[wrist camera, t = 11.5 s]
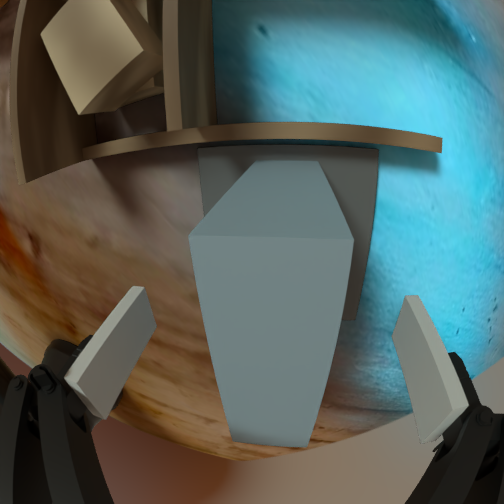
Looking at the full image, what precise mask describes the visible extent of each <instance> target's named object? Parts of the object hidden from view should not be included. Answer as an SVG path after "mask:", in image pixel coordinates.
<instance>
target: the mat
mask: <svg viewBox="0 0 504 504" xmlns="http://www.w3.org/2000/svg"><path fill="white" fill-rule="evenodd" d="M197 150H198V162H199V172H200V183H201V192H202V202H203V211H204V217H205V216H206V215H207V213H208V212H209V211H210V210H211V209H212V208H213V207H214V206H215V204H216V203H217V202H218V201H219V200H220V199H221V198H222V197H223V196H224V194H225V193H226V192H227V191H228V190H229V189H230V188H231V187H232V186H233V185H234V183H235V182H236V181H237V180H238V179H239V178H240V177H241V176H242V175H243V174H244V173H245V172H246V171H247V170H248V168H249V167H250V166H251V165H252V164H253V163H254V162H255V161H261V160H292V161H318V162H319V164H320V166H321V168H322V170H323V172H324V174H325V176H326V178H327V180H328V183H329V185H330V187H331V189H332V191H333V193H334V195H335V197H336V200H337V202H338V204H339V206H340V208H341V211H342V213H343V215H344V217H345V220H346V222H347V224H348V227H349V229H350V231H351V234H352V236H353V239H354V243H353V251H352V259H351V266H350V273H349V279H348V285H347V291H346V297H345V303H344V308H343V313H342V318H341V320H355V319H356V314H357V310H358V305H359V301H360V296H361V291H362V286H363V281H364V276H365V270H366V265H367V259H368V252H369V246H370V239H371V232H372V224H373V216H374V207H375V198H376V186H377V173H378V156H379V150H378V149H372V148H361V147H348V146H332V145H305V144H258V145H232V146H215V147H202V148H197Z"/></svg>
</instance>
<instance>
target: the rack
mask: <svg viewBox="0 0 504 504" xmlns="http://www.w3.org/2000/svg"><path fill="white" fill-rule="evenodd" d="M67 1H68V0H20V4H19V8H18V13H17V18H16V23H15V29H14V36H13V43H12V52H11V64H10V122H11V135H12V144H13V153H14V160H15V166H16V172H17V178H18V183H19V185H22V184H25V183H28V182H30V181H32V180H35V179H37V178H39V177H42V176H44V175H47V174H49V173H52V172H54V171H57V170H59V169H62V168H65V167H67V166H70V165H73V164H76V163H79V162H81V161H85V160H89V159H94V158H99V157H103V156H108V155H114V154H119V153H124V152H130V151H136V150H143V149H149V148H156V147H164V146H172V145H180V144H190V143H200V142H213V141H227V140H248V139H318V140H338V141H353V142H365V143H375V144H384V145H393V146H400V147H407V148H414V149H421V150H427V151H432V152H438V153H442V138H440V137H436V136H431V135H426V134H420V133H415V132H409V131H402V130H395V129H388V128H380V127H372V126H362V125H350V124H336V123H316V122H257V123H236V124H222V125H217V111H216V93H215V74H214V53H213V26H212V0H163V73H164V93H165V109H166V122H167V131H162V132H155V133H149V134H144V135H138V136H133V137H128V138H123V139H118V140H114V141H109V142H105V143H101V144H97V137H96V127H95V116H94V113H90V114H82V115H79V114H78V113H77V111H76V109H75V107H74V105H73V103H72V101H71V99H70V97H69V95H68V93H67V91H66V89H65V87H64V85H63V83H62V81H61V79H60V77H59V75H58V73H57V71H56V69H55V66H54V64H53V62H52V60H51V58H50V55H49V53H48V51H47V49H46V46H45V44H44V42H43V39H42V37H41V33H42V31H43V30H44V29H45V27H46V26H47V25H48V23H49V22H50V21H51V20H52V19H53V17H54V16H55V15H56V14H57V13H58V11H59V10H60V9H61V8H62V7H63V6H64V5H65V3H66V2H67Z"/></svg>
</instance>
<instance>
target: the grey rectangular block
mask: <svg viewBox="0 0 504 504" xmlns="http://www.w3.org/2000/svg"><path fill="white" fill-rule="evenodd" d="M188 237H189V243H190V250H191V256H192V262H193V268H194V274H195V279H196V285H197V290H198V296H199V301H200V306H201V311H202V316H203V321H204V326H205V331H206V336H207V340H208V345H209V349H210V354H211V358H212V363H213V367H214V371H215V376H216V380H217V384H218V388H219V392H220V396H221V400H222V404H223V407H224V411H225V415H226V419H227V422H228V426H229V429H230V433H231V437H232V440H233V441H234V442H242V443H250V444H259V445H271V446H286V447H307V445H308V442H309V440H310V437H311V434H312V430H313V427H314V424H315V421H316V418H317V415H318V411H319V408H320V405H321V401H322V398H323V394H324V391H325V387H326V383H327V379H328V376H329V372H330V368H331V364H332V360H333V355H334V351H335V347H336V342H337V338H338V333H339V328H340V323H341V318H342V313H343V308H344V303H345V297H346V291H347V285H348V279H349V273H350V266H351V259H352V251H353V243H354V239H353V236H352V234H351V231H350V229H349V227H348V224H347V222H346V220H345V217H344V215H343V213H342V211H341V208H340V206H339V204H338V202H337V200H336V197H335V195H334V193H333V191H332V189H331V187H330V185H329V183H328V180H327V178H326V176H325V174H324V172H323V170H322V168H321V166H320V164H319V162H318V161H292V160H261V161H255V162H254V163H253V164H252V165H251V166H250V167H249V168H248V170H247V171H246V172H245V173H244V174H243V175H242V176H241V177H240V178H239V179H238V180H237V181H236V182H235V183H234V185H233V186H232V187H231V188H230V189H229V190H228V191H227V192H226V193H225V194H224V196H223V197H222V198H221V199H220V200H219V201H218V202H217V203H216V204H215V206H214V207H213V208H212V209H211V210H210V211H209V212H208V213H207V215H206V216H205V217H204V218H203V219H202V220H201V221H200V223H199V224H198V225H197V226H196V227H195V228H194V230H193V231H192V232H191V233H190V234H189V235H188Z"/></svg>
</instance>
